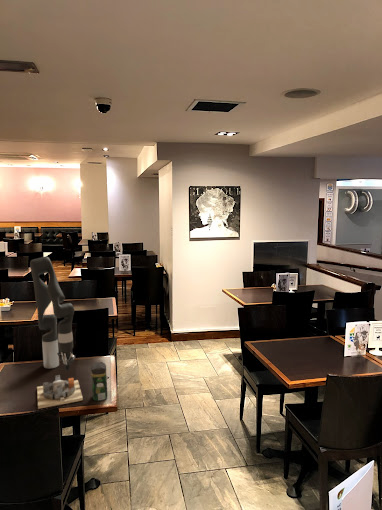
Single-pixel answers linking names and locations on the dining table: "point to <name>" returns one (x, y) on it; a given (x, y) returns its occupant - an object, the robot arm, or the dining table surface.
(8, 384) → the dining table surface
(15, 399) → the dining table surface
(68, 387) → the ring nut
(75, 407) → the dining table surface
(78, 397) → the base plate
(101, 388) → the coffee jar
